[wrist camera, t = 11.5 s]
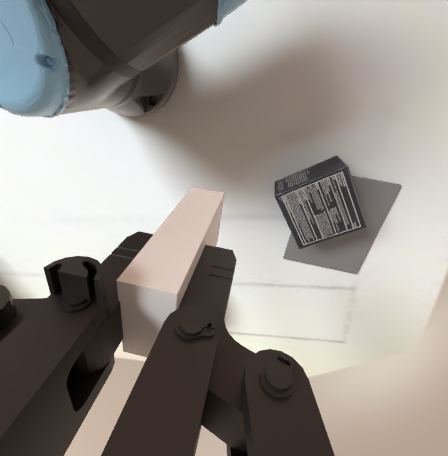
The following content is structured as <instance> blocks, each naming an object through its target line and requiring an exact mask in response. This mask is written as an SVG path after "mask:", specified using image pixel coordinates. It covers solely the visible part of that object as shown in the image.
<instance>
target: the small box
mask: <svg viewBox="0 0 448 456" xmlns="http://www.w3.org/2000/svg"><path fill="white" fill-rule="evenodd" d="M275 198H276V200H277V202H278V204H279V206H280V208H281V210H282V213H283V215H284V217H285V219H286V221H287V224H288V226H289V228H290V230H291V232H292V234H293V236H294V239H295V241H296V243H297V246H298V248H299V249H303V248H305V247H308V246H311V245H314V244H317V243H320V242H323V241H326V240H329V239H332V238H335V237H338V236H341V235H345V234H348V233H351V232H354V231H357V230H360V229H365V228H367V224H366V221H365V218H364V215H363V212H362V209H361V206H360V203H359V200H358V196H357V193H356V190H355V187H354V184H353V181H352V178H351V174H350V171H349V168H348V166H347V165H346V164H345V163H344V162H343V161H342V160H341V159H340V158H339V157H338V156H335V157H332V158H330V159H328V160H326V161H323V162H321V163H319V164H316V165H314V166H312V167H310V168H307V169H305V170H302V171H300V172H298V173H295V174H293V175H291V176H288V177H286V178H284V179H281V180H279V181H276V182H275Z"/></svg>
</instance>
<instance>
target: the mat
mask: <svg viewBox="0 0 448 456" xmlns="http://www.w3.org/2000/svg"><path fill="white" fill-rule="evenodd" d="M351 178H352V181H353V184H354V187H355V190H356V193H357V196H358V200H359V203H360V206H361V209H362V212H363V215H364V218H365V221H366V224H367V228H365V229H360V230H357V231H354V232H351V233H348V234H345V235H341V236H338V237H335V238H332V239H329V240H326V241H323V242H320V243H317V244H314V245H311V246H308V247H305V248H303V249H299V248H298V246H297V243H296V241H295V239H294V236H293V234H292V232H291V235H290V238H289V241H288V245H287V248H286V251H285V254H284V259H287V260H292V261H297V262H302V263H306V264H311V265H316V266H321V267H325V268H330V269H335V270H339V271H344V272H349V273H354V274H357V272H358V270H359V268H360V266H361V264H362V262H363V260H364V258H365V257H366V255H367V253H368V251H369V249H370V247H371V245H372V243H373V241H374V239H375V237H376V235H377V233H378V231H379V229H380V227H381V225H382V223H383V221H384V219H385V217H386V215H387V213H388V211H389V210H390V208H391V206H392V204H393V202H394V200H395V198H396V196H397V194H398V192H399V190H400V188H401V185H399V184H393V183H388V182H382V181H377V180H371V179H366V178H360V177H355V176H351Z"/></svg>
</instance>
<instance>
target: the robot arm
mask: <svg viewBox="0 0 448 456" xmlns="http://www.w3.org/2000/svg"><path fill="white" fill-rule="evenodd" d="M246 1H247V0H0V108H3V109H5V110H7V111H8V112H10V113H12V114H15V115H19V116H26V117H49V118H52V117H54V116H58V115H60V114H67V113H74V112H80V111H87V110H94V109H101V108H106V109H108V110H110V111H112V112H114V113H117V114H120V115H124V116H142V115H146V114H150V113H152V112H154V111H156V110H158V109H159V108H161V107H162V106H163V105H164V104H165V103H166V102H167V100H168V99H169V97H170V96H171V94H172V92H173V89H174V87H175V84H176V80H177V73H178V57H177V51H176V49H178V48H179V47H181V46H182V45H184V44H185V43H187V42H188V41H190V40H191V39H193V38H194V37H196V36H197V35H199V34H200V33H202V32H203V31H205V30H206V29H208V28H209V27H211V26H212V25H214V26H215V27H216V26H218V25H219V24H220V23H221V21H222V19H223V18H224V17H226V16H227V15H228V14H230V13H231V12H232V11H234V10H235V9H237V8H238V7H239V6H241V5H242V4H243V3H245V2H246ZM223 199H224V193H222V192H217V191H212V190H207V189H202V188H196V187H192V188H191V189H190V190H189V191H188V193H187V194H186V195H185V196H184V198H183V199H182V200H181V201H180V203H179V204H178V205H177V206H176V208H175V209H174V210H173V211H172V212H171V214H170V215H169V216H168V217H167V219H166V220H165V221H164V222H163V224H162V225H161V226H160V227H159V229H158V230H157V231H156V232H155V233H154V235H153V234H148V233H144V232H137V233H135V234H133V235H131V236H129V237H127V238H126V239H125V240H124V241H123V242H122V243H121V244H120V245H119V246H118V248H116V249H115V250H114V251H113V252H112V254H111V255H109V256H108V257H107V258H106V259H105V260H104V261H103V262H102V263H101V264H100V263H99V262H98V260H95V259H93V258H90V257H83V256H75V257H67V258H63V259H60V260H57V261H54V262H52V263H51V264H49V265H47V266H46V267H44V271H45V275H46V279H47V282H48V286H49V289H50V293H51V295H50V296H49V297H48V298H42V299H12V296H11V294H10V292H9V290H8V289H7V288H6V287H5V286H1V285H0V456H64V454H65V452H66V450H67V449H68V447H69V445H70V444H71V442H72V440H73V438H74V436H75V435H76V433H77V431H78V429H79V428H80V426H81V424H82V422H83V420H84V419H85V417H86V415H87V414H88V412H89V410H90V408H91V407H92V405H93V403H94V401H95V399H96V398H97V396H98V394H99V392H100V391H101V389H102V387H103V385H104V384H105V382H106V380H107V378H108V376H109V375H110V373H111V371H112V369H113V366H114V363H115V361H114V352H115V351H116V349H117V347H118V346H119V344H120V342H121V341H122V343H123V351H124V352H128V353H132V354H136V355H140V356H144V357H147V359H146V361H145V363H144V366H143V368H142V370H141V372H140V374H139V376H138V378H137V381H136V383H135V385H134V387H133V389H132V391H131V393H130V395H129V398H128V400H127V402H126V404H125V406H124V408H123V410H122V412H121V414H120V417H119V419H118V421H117V423H116V425H115V427H114V430H113V431H112V434H111V436H110V438H109V440H108V442H107V444H106V446H105V448H104V451H103V453H102V455H101V456H195V453H196V448H197V443H198V438H199V434H200V430H201V425H203V426H204V427H205V428H206V429H208V430H209V431H210V432H212V433H213V434H215V435H216V436H217V437H218V438H219V439H221V440H222V441H223V442H225V443H226V444H227V456H334V453H333V450H332V447H331V444H330V441H329V438H328V435H327V432H326V429H325V426H324V423H323V420H322V418H321V414H320V412H319V409H318V406H317V403H316V400H315V397H314V394H313V391H312V388H311V385H310V383H309V379H308V378H307V376H306V374H305V372H304V370H303V368H302V367H301V366H300V365H299V364H298V363H297V362H296V361H295V360H294V359H293V358H292V357H291V356H289V355H287V354H285V353H283V352H282V351H277V350H272V349H268V350H262V351H259V352H257V353H256V354H255V353H254V352H252V351H250V350H248V349H247V348H245V347H243V346H242V345H240V344H239V343H238V342H236V341H235V340H234V339H233V338H232V337H231V336H230V334H229V333H228V331H227V329H226V326H225V322H224V318H225V313H226V308H227V304H228V299H229V294H230V290H231V285H232V280H233V275H234V270H235V265H236V258H235V255H234V253H233V250H228V249H224V248H219V247H216V244H217V240H218V233H219V226H220V219H221V212H222V206H223Z"/></svg>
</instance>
